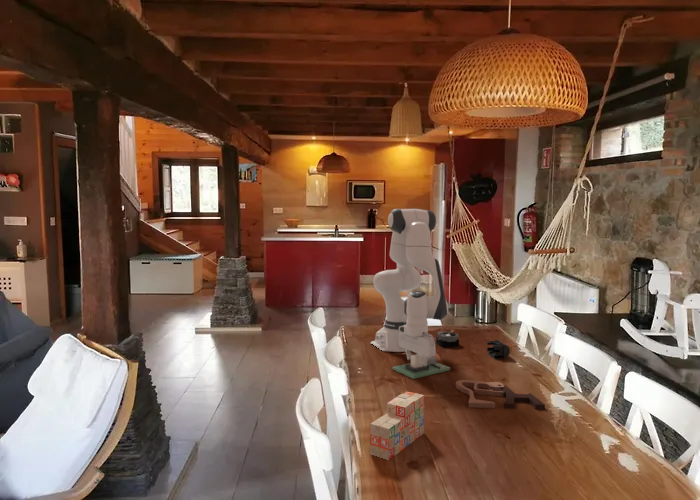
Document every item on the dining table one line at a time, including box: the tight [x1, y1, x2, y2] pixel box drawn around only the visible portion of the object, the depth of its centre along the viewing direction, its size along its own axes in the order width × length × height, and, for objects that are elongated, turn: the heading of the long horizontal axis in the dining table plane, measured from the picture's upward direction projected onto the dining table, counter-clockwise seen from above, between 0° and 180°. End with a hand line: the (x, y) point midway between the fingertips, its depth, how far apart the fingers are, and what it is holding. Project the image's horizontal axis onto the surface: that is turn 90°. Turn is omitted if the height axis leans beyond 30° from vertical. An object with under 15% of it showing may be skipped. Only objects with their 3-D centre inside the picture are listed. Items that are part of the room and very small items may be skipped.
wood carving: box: [455, 379, 546, 411], centre depth 189 cm, size 28×2×24 cm
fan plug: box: [410, 353, 423, 368], centre depth 216 cm, size 3×5×6 cm, turn 122°
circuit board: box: [392, 356, 451, 380], centre depth 219 cm, size 14×20×4 cm
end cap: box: [486, 339, 511, 360], centre depth 238 cm, size 10×7×7 cm
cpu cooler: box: [435, 331, 460, 348], centre depth 258 cm, size 10×6×10 cm
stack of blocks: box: [369, 391, 425, 461], centre depth 151 cm, size 21×6×12 cm, turn 145°
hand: (416, 362), depth 216 cm, fingers open, 8 cm apart
